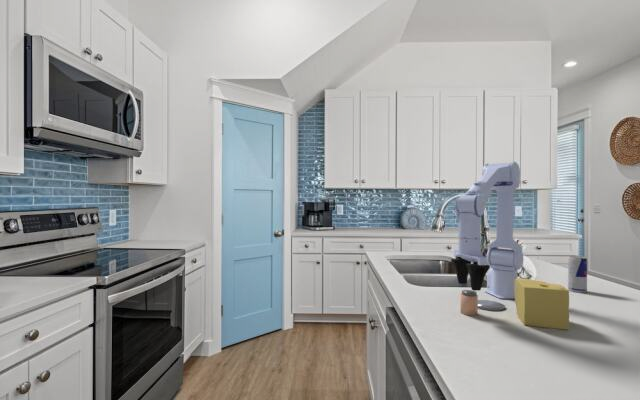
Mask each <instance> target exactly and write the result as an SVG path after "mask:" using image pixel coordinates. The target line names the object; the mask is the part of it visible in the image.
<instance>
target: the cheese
mask: <svg viewBox="0 0 640 400" xmlns="http://www.w3.org/2000/svg"><path fill="white" fill-rule="evenodd" d="M569 291H570V290H569V289H568V288H566V287H565V286H563V285H562V284H557V283H550V282H546V281H542V280H536V279H528V278H517V279H515V288H514V294H515V298H514V301H515V307H516V315H517V317H518V318H519V319H520V321H521V322H522V324H523V325H524V326H529V327H537V328H549V329H555V330H557V329H558V330H569V327H570V292H569Z"/></svg>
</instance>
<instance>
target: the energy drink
mask: <svg viewBox="0 0 640 400" xmlns="http://www.w3.org/2000/svg"><path fill="white" fill-rule="evenodd" d="M567 261H568V262H567V263H568V267H567V271H568V272H567V273H568V275H567V290H569V291H570V292H572V291H573V292H572V293H578V292H579V293H578V294H580V293H581V294H582V293H583V294H585V293H587V291H588V259H587V256H579V255H578V256H577V255H569V256H568V259H567Z"/></svg>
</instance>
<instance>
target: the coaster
mask: <svg viewBox="0 0 640 400" xmlns="http://www.w3.org/2000/svg"><path fill="white" fill-rule="evenodd" d="M478 309H480V310H482V311H488V312H489V311H490V312H500V311H504V310H506V305H505V304H503V303H501V302H499V301H494V300H489V299H478Z"/></svg>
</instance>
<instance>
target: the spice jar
mask: <svg viewBox="0 0 640 400" xmlns="http://www.w3.org/2000/svg"><path fill="white" fill-rule="evenodd" d="M478 297H479V295H478V294H477V291H473V290H472V289H463V290H461V293H460V314H462V315H464V316H469V317H470V316H471V317H474V316H475V317H476V316H478V309H479V308H478V300H479V299H478Z"/></svg>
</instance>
